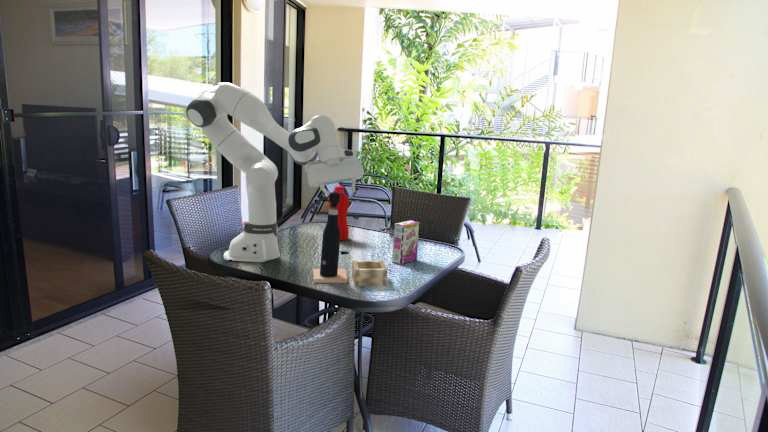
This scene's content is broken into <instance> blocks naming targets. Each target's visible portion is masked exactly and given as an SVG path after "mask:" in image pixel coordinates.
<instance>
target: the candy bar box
mask: <svg viewBox="0 0 768 432" xmlns="http://www.w3.org/2000/svg"><path fill="white" fill-rule="evenodd" d="M393 229H394V230H393V241H392V242H393V244H392V259H391V262H392V263H393V264H397V265H405V264H407V263H411V262H414V261H418V245H419V234H420V233H419V232H420V222H419V221H416V220H406V221H401V222H397V223H394V227H393Z"/></svg>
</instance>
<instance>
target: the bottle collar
mask: <svg viewBox="0 0 768 432" xmlns="http://www.w3.org/2000/svg"><path fill="white" fill-rule="evenodd" d="M351 261H352V262H351V279H352V282H353V285H354V287H387V286H388V268H387V266H386V264H385V262H384V261H383V260H351Z"/></svg>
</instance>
